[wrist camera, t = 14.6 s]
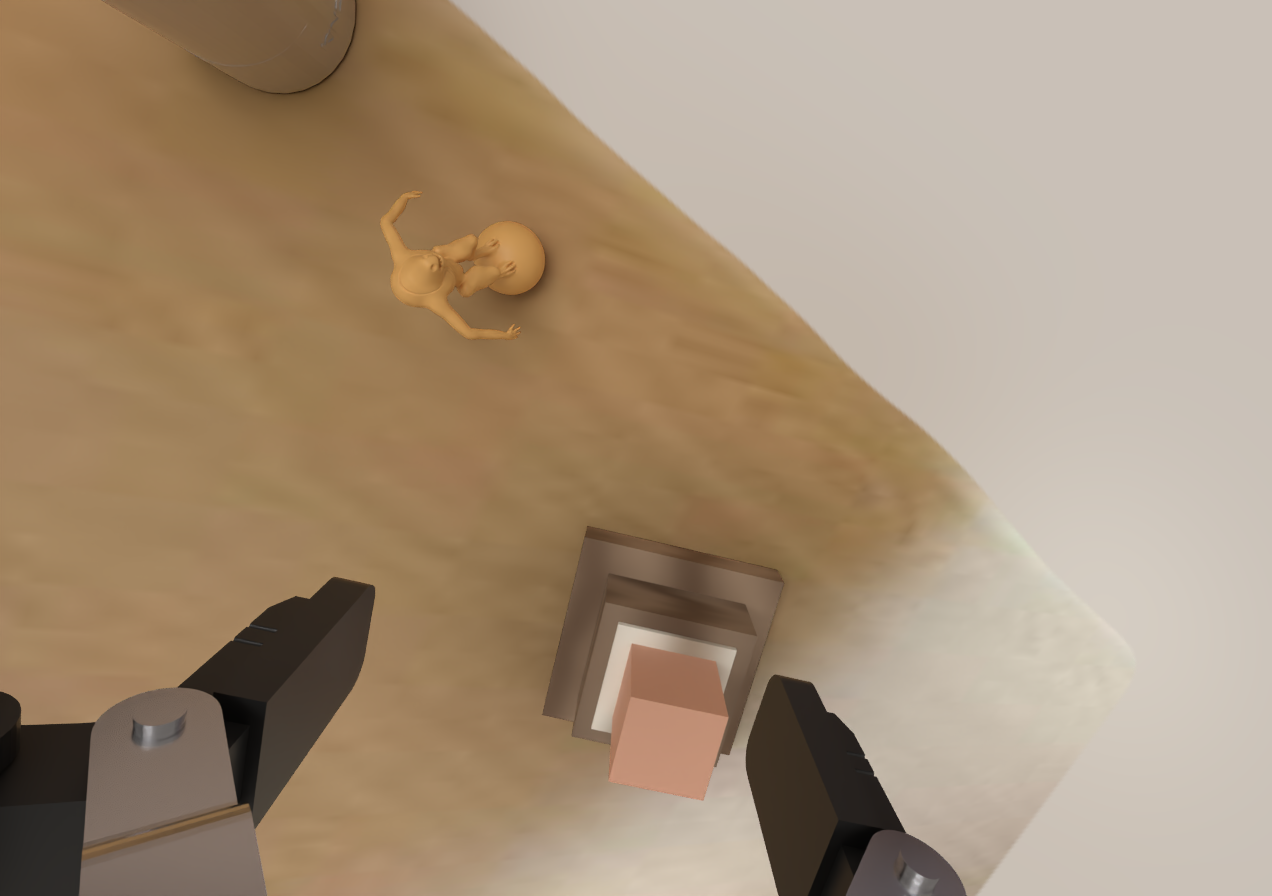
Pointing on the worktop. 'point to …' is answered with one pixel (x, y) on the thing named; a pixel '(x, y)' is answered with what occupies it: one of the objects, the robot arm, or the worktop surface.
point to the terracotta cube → (667, 723)
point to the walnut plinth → (657, 624)
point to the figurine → (428, 277)
